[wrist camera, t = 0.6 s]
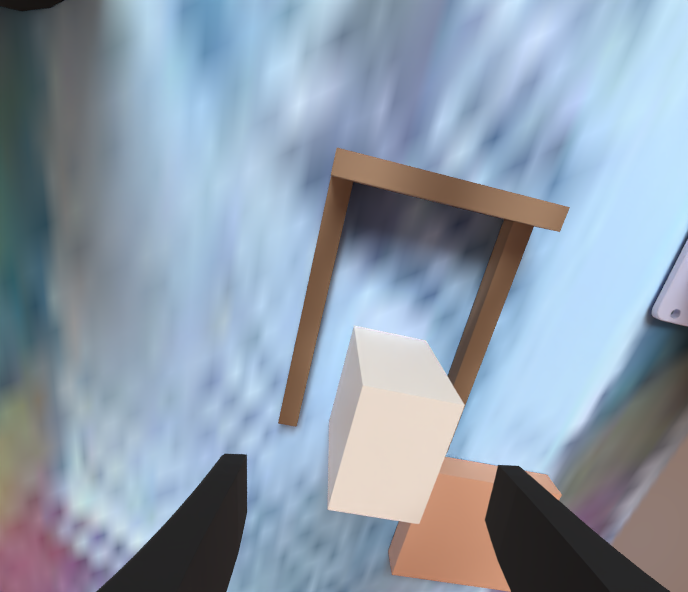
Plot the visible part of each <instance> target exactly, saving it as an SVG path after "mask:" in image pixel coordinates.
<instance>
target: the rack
mask: <svg viewBox="0 0 688 592" xmlns="http://www.w3.org/2000/svg"><path fill="white" fill-rule="evenodd" d="M353 182H356V183H360V184H364V185H368V186H372V187H376V188H380V189H384V190H388V191H392V192H396V193H400V194H404V195H408V196H412V197H416V198H420V199H424V200H428V201H432V202H436V203H440V204H444V205H448V206H452V207H457V208H461V209H465V210H469V211H473V212H477V213H481V214H485V215H489V216H493V217H497V218H501V219H504V221H503V223H502V226H501V229H500V232H499V235H498V237H497V240H496V243H495V246H494V249H493V251H492V254H491V257H490V260H489V262H488V265H487V268H486V271H485V274H484V276H483V279H482V282H481V285H480V288H479V290H478V293H477V296H476V299H475V302H474V304H473V307H472V310H471V313H470V316H469V318H468V321H467V324H466V327H465V330H464V332H463V335H462V338H461V341H460V343H459V346H458V349H457V352H456V355H455V357H454V360H453V363H452V366H451V369H450V371H449V374H448V378H449V380H450V381H451V383H452V385H453V386H454V388H455V390H456V392H457V393H458V395H459V397H460V398H461V400H462V402H463V403H464V405H465V404H466V402H467V399H468V397H469V394H470V391H471V389H472V386H473V384H474V381H475V378H476V376H477V373H478V371H479V368H480V365H481V363H482V360H483V358H484V355H485V352H486V350H487V347H488V345H489V342H490V339H491V337H492V334H493V332H494V329H495V326H496V324H497V321H498V318H499V316H500V313H501V311H502V308H503V305H504V303H505V300H506V298H507V295H508V292H509V290H510V287H511V285H512V282H513V279H514V277H515V274H516V272H517V269H518V266H519V264H520V261H521V259H522V256H523V253H524V251H525V248H526V246H527V243H528V240H529V238H530V235H531V233H532V230H533V227H534V226H535V227H539V228H544V229H549V230H554V231H558V232H560V230H561V228H562V225H563V223H564V220H565V218H566V215H567V213H568V210H569V208H570V207H566V206H562V205H558V204H555V203H551V202H547V201H543V200H539V199H535V198H531V197H527V196H523V195H520V194H516V193H512V192H508V191H504V190H500V189H496V188H492V187H488V186H485V185H481V184H477V183H473V182H469V181H465V180H461V179H457V178H453V177H449V176H446V175H442V174H438V173H434V172H430V171H426V170H422V169H418V168H414V167H411V166H407V165H403V164H399V163H395V162H391V161H387V160H383V159H379V158H376V157H372V156H368V155H364V154H360V153H356V152H352V151H348V150H344V149H340V148H337V149H336V154H335V158H334V163H333V168H332V172H331V179H330V184H329V189H328V193H327V198H326V203H325V207H324V212H323V217H322V221H321V226H320V231H319V235H318V240H317V244H316V249H315V254H314V258H313V263H312V268H311V272H310V277H309V282H308V286H307V291H306V296H305V300H304V305H303V310H302V314H301V319H300V324H299V328H298V333H297V338H296V342H295V347H294V352H293V356H292V361H291V366H290V370H289V375H288V380H287V384H286V389H285V394H284V398H283V403H282V408H281V412H280V417H279V422H278V423H279V424H285V425H290V426H297V422H298V418H299V413H300V409H301V405H302V401H303V396H304V392H305V388H306V383H307V379H308V375H309V370H310V366H311V362H312V358H313V353H314V349H315V345H316V340H317V336H318V332H319V327H320V323H321V319H322V314H323V310H324V306H325V302H326V297H327V293H328V289H329V284H330V280H331V276H332V271H333V267H334V263H335V259H336V254H337V250H338V246H339V241H340V237H341V233H342V228H343V224H344V220H345V215H346V211H347V207H348V203H349V198H350V194H351V190H352V185H353ZM464 407H465V406H464ZM463 410H464V408H463ZM462 412H463V411H462ZM461 415H462V414H461ZM460 418H461V416H460ZM459 420H460V419H459ZM458 423H459V421H458ZM457 425H458V424H457ZM456 428H457V427H456ZM455 431H456V429H455ZM454 433H455V432H454ZM453 436H454V434H453ZM452 438H453V437H452ZM451 441H452V440H451ZM450 444H451V442H450ZM449 446H450V445H449ZM448 449H449V448H448ZM447 451H448V450H447Z"/></svg>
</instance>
